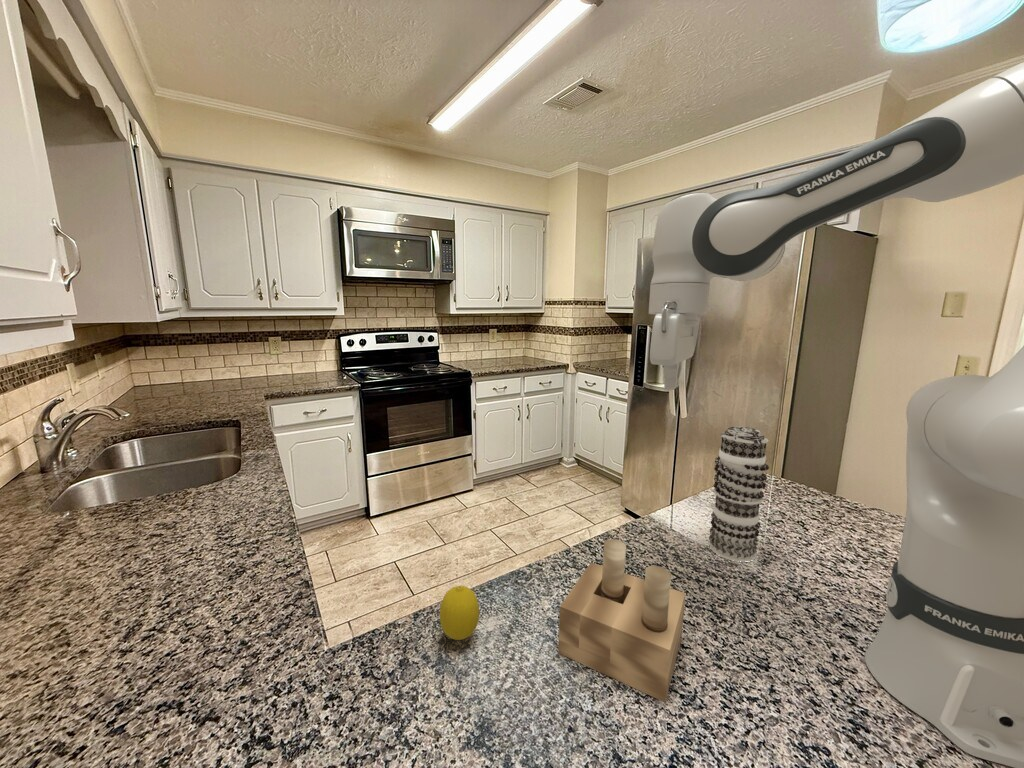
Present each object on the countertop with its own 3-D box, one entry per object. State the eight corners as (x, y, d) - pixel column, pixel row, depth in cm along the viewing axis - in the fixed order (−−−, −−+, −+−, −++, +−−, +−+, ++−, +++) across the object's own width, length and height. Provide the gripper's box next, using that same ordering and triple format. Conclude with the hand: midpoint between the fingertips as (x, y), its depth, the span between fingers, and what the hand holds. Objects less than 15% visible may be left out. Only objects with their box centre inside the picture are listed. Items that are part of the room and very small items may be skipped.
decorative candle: (758, 546, 84) (771, 427, 80) (759, 569, 76) (774, 438, 72) (708, 534, 88) (719, 421, 84) (704, 555, 80) (716, 431, 76)
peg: (624, 619, 59) (628, 542, 58) (618, 633, 57) (622, 553, 55) (603, 611, 61) (607, 536, 59) (596, 624, 58) (600, 546, 57)
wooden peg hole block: (681, 637, 59) (689, 547, 57) (665, 702, 49) (674, 595, 47) (589, 602, 66) (593, 521, 64) (558, 652, 56) (561, 558, 54)
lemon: (472, 657, 55) (472, 603, 54) (433, 650, 56) (433, 596, 55) (483, 627, 60) (484, 577, 59) (448, 621, 61) (447, 572, 60)
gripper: (689, 299, 55) (681, 400, 57) (706, 306, 73) (699, 383, 75) (642, 300, 59) (636, 395, 61) (669, 306, 76) (663, 380, 78)
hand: (671, 388), depth 68 cm, fingers closed
